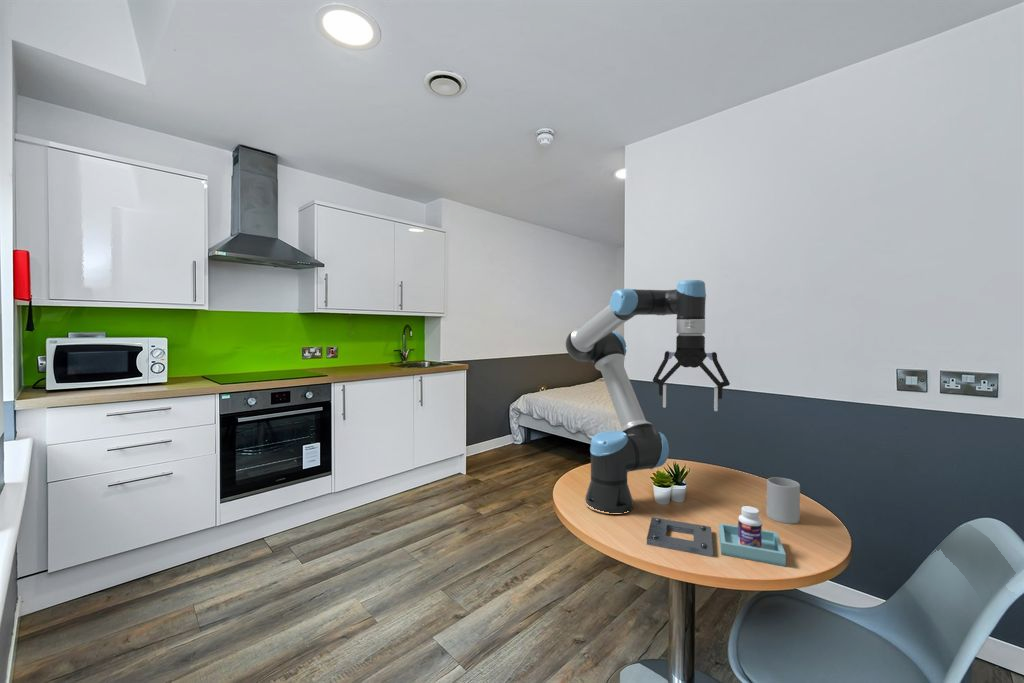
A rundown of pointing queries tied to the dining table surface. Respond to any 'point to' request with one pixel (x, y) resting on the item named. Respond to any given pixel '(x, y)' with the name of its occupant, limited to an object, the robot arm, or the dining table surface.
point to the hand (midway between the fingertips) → (689, 408)
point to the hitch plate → (698, 546)
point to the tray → (767, 553)
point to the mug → (783, 500)
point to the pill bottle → (750, 527)
